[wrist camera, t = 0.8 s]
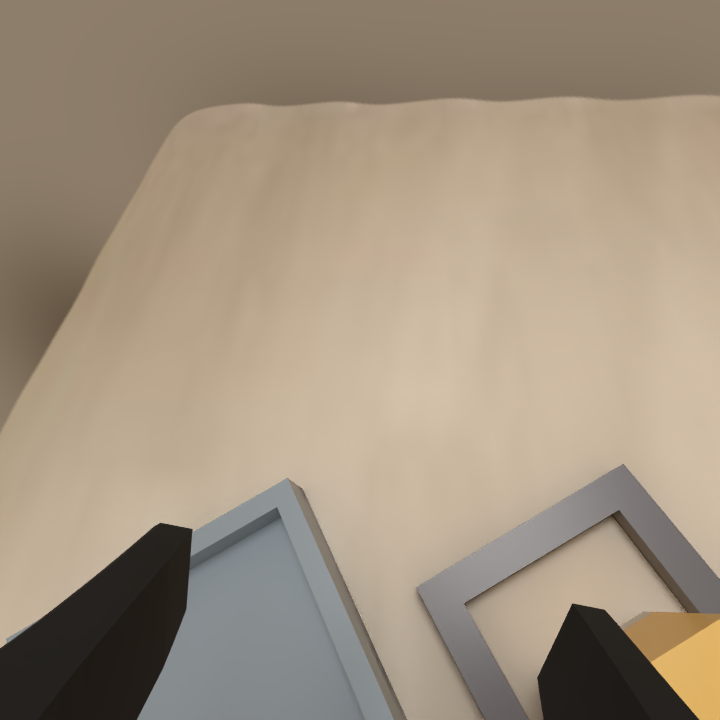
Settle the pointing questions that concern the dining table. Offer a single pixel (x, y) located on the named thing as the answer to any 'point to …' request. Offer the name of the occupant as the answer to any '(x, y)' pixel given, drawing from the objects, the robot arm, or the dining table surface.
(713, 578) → the holder frame
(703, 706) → the block
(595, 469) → the dining table surface
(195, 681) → the parts tray
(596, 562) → the dining table surface
